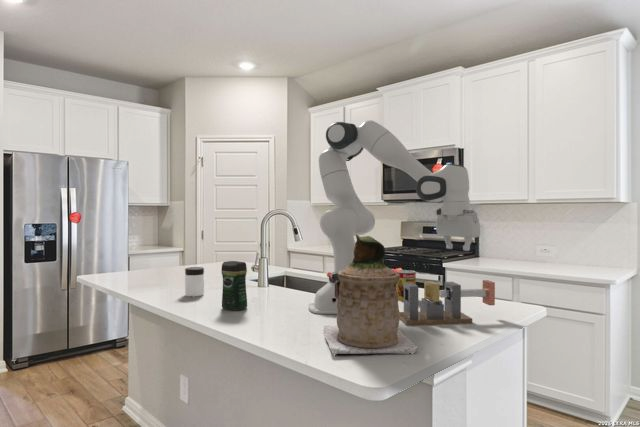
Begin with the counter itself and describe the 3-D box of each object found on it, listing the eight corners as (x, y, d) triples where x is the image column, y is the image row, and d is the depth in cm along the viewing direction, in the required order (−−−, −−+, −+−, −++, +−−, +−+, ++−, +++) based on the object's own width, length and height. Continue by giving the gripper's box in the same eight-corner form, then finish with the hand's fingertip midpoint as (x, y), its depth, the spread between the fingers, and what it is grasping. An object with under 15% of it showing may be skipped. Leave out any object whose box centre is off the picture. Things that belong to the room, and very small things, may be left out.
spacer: (432, 301, 152) (432, 284, 152) (424, 298, 158) (424, 281, 158) (439, 301, 153) (439, 283, 153) (430, 297, 159) (430, 281, 159)
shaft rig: (406, 325, 149) (406, 288, 148) (396, 316, 161) (396, 281, 160) (472, 323, 151) (472, 286, 151) (457, 314, 163) (457, 280, 163)
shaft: (442, 306, 154) (442, 283, 153) (437, 303, 159) (437, 281, 158) (494, 305, 156) (494, 282, 155) (487, 302, 161) (487, 279, 160)
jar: (203, 296, 197) (203, 269, 197) (184, 297, 195) (184, 270, 195) (204, 292, 206) (204, 266, 206) (186, 293, 204) (185, 267, 204)
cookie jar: (420, 355, 120) (420, 236, 119) (329, 358, 118) (328, 237, 117) (397, 329, 144) (397, 230, 144) (321, 331, 142) (321, 231, 142)
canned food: (407, 302, 183) (407, 273, 183) (392, 299, 189) (392, 271, 189) (419, 299, 188) (419, 271, 188) (404, 296, 194) (404, 269, 194)
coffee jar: (250, 307, 175) (250, 260, 175) (237, 312, 168) (236, 263, 168) (232, 305, 180) (231, 259, 180) (218, 309, 173) (217, 261, 173)
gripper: (484, 209, 148) (485, 251, 148) (446, 210, 167) (448, 247, 167) (468, 209, 145) (469, 252, 145) (432, 210, 165) (433, 248, 165)
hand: (457, 249), depth 156 cm, fingers open, 8 cm apart
